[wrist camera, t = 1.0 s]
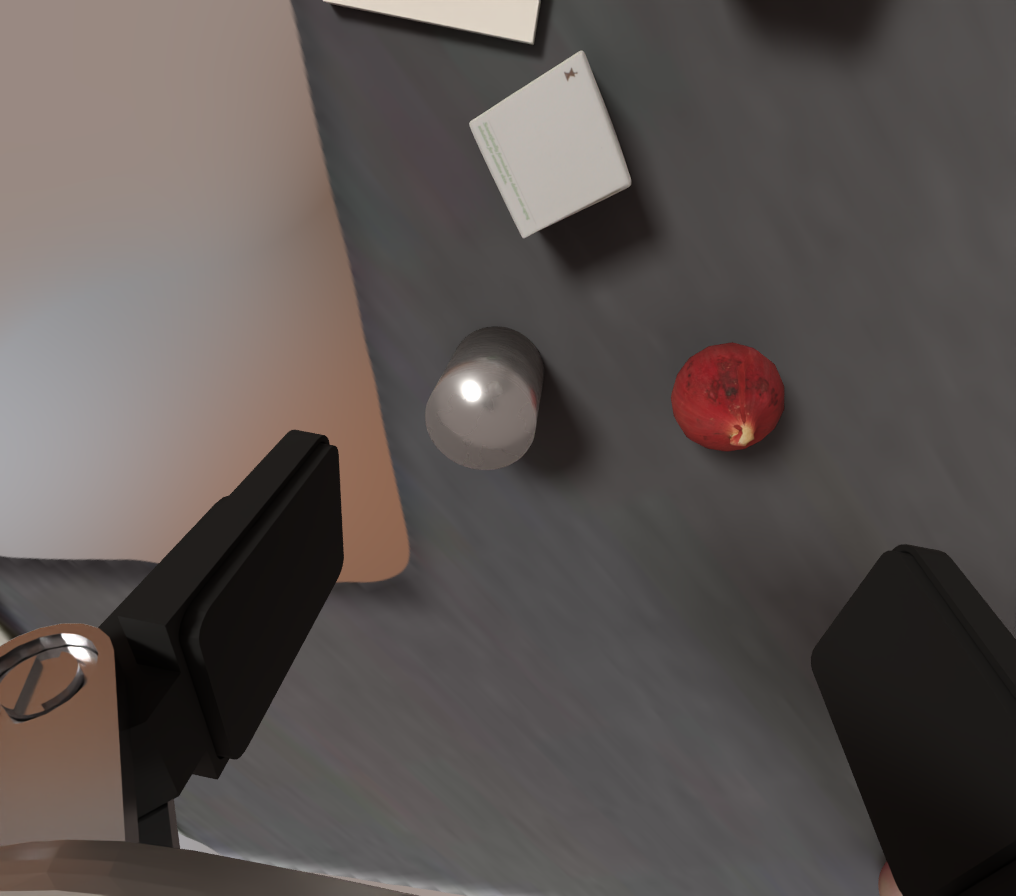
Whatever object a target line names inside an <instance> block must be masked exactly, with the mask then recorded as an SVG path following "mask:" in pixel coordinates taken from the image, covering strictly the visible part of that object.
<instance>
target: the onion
mask: <svg viewBox="0 0 1016 896" xmlns="http://www.w3.org/2000/svg"><path fill="white" fill-rule="evenodd" d="M671 401H672V407H673V413H674V417H675V419H676V421H677V422H678V424H679V426H680V427H681V429H682V430H683V432H684V434H685V435H686V437H688V438H689V439H691V440H692V441H694V442H696V443H698V444H700V445H702V446H704V447H706V448H708V449H715V450H721V451H733V450H740V449H745V448H747V447H749V446H751V445H753V444H755V443H757V442H759V441H761V440H762V439H763V438H764V437H765V436H767V435H768V434H769V433H770V432H771V431H772V430H773V429H774V428H775V427H776V425H777V423H778V421H779V419H780V417H781V415H782V412H783V410H784V385H783V383H782V380H781V378H780V375H779V373H778V371H777V368H776V366H775V364H774V363H772V362H771V361H770V360H769V359H767V358H766V357H765V356H763V355H762V354H761V353H760V352H758V351H757V350H755V349H754V348H751V347H748V346H744V345H740V344H736V343H726V344H720V345H714V346H709V347H707V348H705V349H704V350H702V351H700V352H699V353H697V354H695V355H694V356H692V357H690V358H689V359H688V361H687V362H686V363H685V365H684V366H683V367H682V369H681V370H680V372H679V373H678V374H677V377H676V381H675V384H674V387H673V391H672V395H671Z"/></svg>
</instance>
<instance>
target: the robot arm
mask: <svg viewBox="0 0 1016 896" xmlns="http://www.w3.org/2000/svg"><path fill="white" fill-rule="evenodd" d="M343 553H344V552H343V532H342V514H341V493H340V474H339V454H338V449H337V447H336V446H333V445H330V444H329V440H328V438H327V437H326V436H325V435H320V434H315V433H310V432H304V431H299V430H291V431H289V432H288V433H287V434H286V435H285V436H284V437H283V438H282V439H281V440H280V441H279V443H278V444H277V445H276V446H275V447H274V448H273V449H272V450H271V451H270V452H269V453H268V455H267V456H266V457H265V458H264V459H263V460H262V461H261V462H260V463H259V464H258V465H257V466H256V467H255V468H254V470H253V471H252V472H251V473H250V474H249V475H248V476H247V477H246V478H245V479H244V480H243V481H242V482H241V484H240V485H239V486H238V487H237V488H236V489H235V490H234V491H233V492H232V493H231V494H230V495H229V496H226V497H223V498H222V499H220V500H219V501H218V502H217V503H216V504H215V505H214V506H213V507H212V508H211V509H210V510H209V511H208V512H207V513H206V514H205V515H204V516H203V517H202V518H201V519H200V520H199V522H198V523H197V524H196V525H195V526H194V527H193V528H192V529H191V530H190V531H189V532H188V533H187V534H186V535H185V536H184V537H183V538H182V540H181V541H180V542H179V543H178V544H177V545H176V546H175V547H174V548H173V549H172V550H171V551H170V552H169V553H168V554H167V555H166V557H164V559H163V560H162V561H161V562H160V563H159V564H158V565H157V566H156V567H155V568H154V569H153V570H152V571H151V572H150V573H149V574H148V575H147V577H146V578H145V579H144V580H143V581H142V582H141V583H140V584H139V585H138V586H137V587H136V588H135V589H134V590H133V591H132V592H131V593H130V595H129V596H128V597H127V598H126V599H125V600H124V601H123V602H122V603H121V604H120V605H119V606H118V607H117V608H116V609H115V610H114V611H113V613H112V614H111V615H110V616H109V617H108V618H107V619H106V620H105V621H104V622H103V623H102V624H101V625H100V626H99V627H98V628H96V627H93V626H90V625H86V624H83V623H62V624H57V625H52V626H47V627H42V628H39V629H36V630H33V631H31V632H28V633H26V634H23V635H20V636H18V637H15V638H14V639H12V640H10V641H8V642H7V643H5V644H3V645H1V646H0V896H417V895H413V894H408V893H403V892H398V891H394V890H389V889H385V888H380V887H375V886H371V885H366V884H361V883H356V882H351V881H347V880H342V879H338V878H333V877H328V876H323V875H318V874H313V873H308V872H302V871H297V870H292V869H287V868H282V867H276V866H271V865H266V864H261V863H256V862H250V861H245V860H240V859H235V858H230V857H224V856H219V855H214V854H208V853H204V852H198V851H193V850H185V849H180V845H179V837H178V829H177V821H176V813H175V805H174V798H176V797H178V796H179V795H180V793H181V792H182V790H183V788H184V787H185V785H186V783H187V782H188V780H189V778H190V777H191V775H192V774H194V775H199V776H203V777H208V778H213V779H218V778H219V776H220V775H221V773H222V771H223V769H224V767H225V766H226V764H227V762H228V760H229V758H230V759H238V758H239V757H241V756H242V754H243V753H244V752H245V750H246V748H247V747H248V745H249V743H250V741H251V739H252V738H253V736H254V734H255V732H256V730H257V728H258V726H259V725H260V723H261V721H262V719H263V717H264V715H265V713H266V712H267V710H268V708H269V706H270V704H271V702H272V700H273V698H274V697H275V695H276V693H277V691H278V689H279V687H280V685H281V684H282V682H283V680H284V678H285V676H286V674H287V672H288V671H289V669H290V667H291V665H292V663H293V661H294V659H295V657H296V656H297V654H298V652H299V650H300V648H301V646H302V644H303V643H304V641H305V639H306V637H307V635H308V633H309V631H310V629H311V628H312V626H313V624H314V622H315V620H316V618H317V616H318V615H319V613H320V611H321V609H322V607H323V605H324V603H325V602H326V600H327V598H328V596H329V594H330V592H331V590H332V588H333V587H334V585H335V583H336V581H337V579H338V577H339V575H340V572H341V569H342V566H343V560H344V554H343ZM811 667H812V670H813V673H814V676H815V678H816V681H817V684H818V686H819V689H820V691H821V694H822V696H823V699H824V701H825V704H826V707H827V709H828V712H829V714H830V717H831V719H832V722H833V724H834V727H835V730H836V732H837V735H838V737H839V740H840V742H841V745H842V747H843V750H844V753H845V755H846V758H847V760H848V763H849V765H850V768H851V770H852V773H853V776H854V778H855V781H856V783H857V786H858V788H859V791H860V793H861V796H862V799H863V801H864V804H865V806H866V809H867V811H868V814H869V817H870V819H871V822H872V824H873V827H874V829H875V832H876V834H877V837H878V840H879V842H880V845H881V847H882V850H883V852H884V855H885V857H886V860H887V863H888V865H889V868H890V870H891V873H892V875H893V878H894V880H895V883H896V885H897V887H898V889H899V891H900V892H901V894H902V895H903V896H1016V639H1015V638H1014V637H1013V636H1012V634H1011V633H1010V632H1009V631H1008V629H1007V628H1006V627H1005V626H1004V624H1003V623H1002V622H1001V620H1000V619H999V618H998V617H997V615H996V614H995V613H994V612H993V610H992V609H991V608H990V607H989V605H988V604H987V603H986V602H985V600H984V599H983V598H982V597H981V595H980V594H979V593H978V592H977V590H976V589H975V588H974V586H973V585H972V584H971V583H970V581H969V580H968V579H967V578H966V576H965V575H964V574H963V573H962V571H961V570H960V569H959V568H958V566H957V565H956V564H955V563H954V561H953V560H952V559H951V558H950V557H949V556H948V555H947V554H946V553H944V552H942V551H939V550H934V549H928V548H923V547H918V546H912V545H907V544H905V545H899V546H897V547H895V548H894V549H893V550H892V551H887V552H885V553H883V554H882V555H881V557H880V558H879V559H878V561H877V562H876V563H875V565H874V566H873V568H872V569H871V570H870V572H869V573H868V575H867V576H866V577H865V579H864V580H863V581H862V583H861V584H860V586H859V587H858V588H857V590H856V591H855V592H854V594H853V595H852V597H851V598H850V599H849V601H848V602H847V604H846V605H845V606H844V608H843V609H842V610H841V612H840V613H839V615H838V616H837V617H836V619H835V620H834V621H833V623H832V624H831V626H830V627H829V628H828V630H827V631H826V633H825V634H824V635H823V637H822V638H821V639H820V641H819V642H818V644H817V645H816V646H815V648H814V650H813V652H812V656H811Z"/></svg>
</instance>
